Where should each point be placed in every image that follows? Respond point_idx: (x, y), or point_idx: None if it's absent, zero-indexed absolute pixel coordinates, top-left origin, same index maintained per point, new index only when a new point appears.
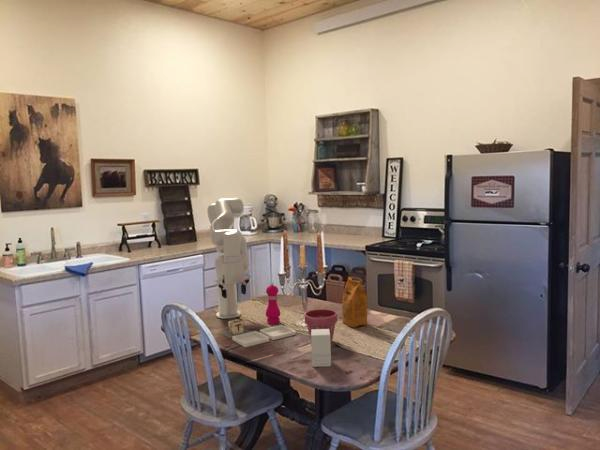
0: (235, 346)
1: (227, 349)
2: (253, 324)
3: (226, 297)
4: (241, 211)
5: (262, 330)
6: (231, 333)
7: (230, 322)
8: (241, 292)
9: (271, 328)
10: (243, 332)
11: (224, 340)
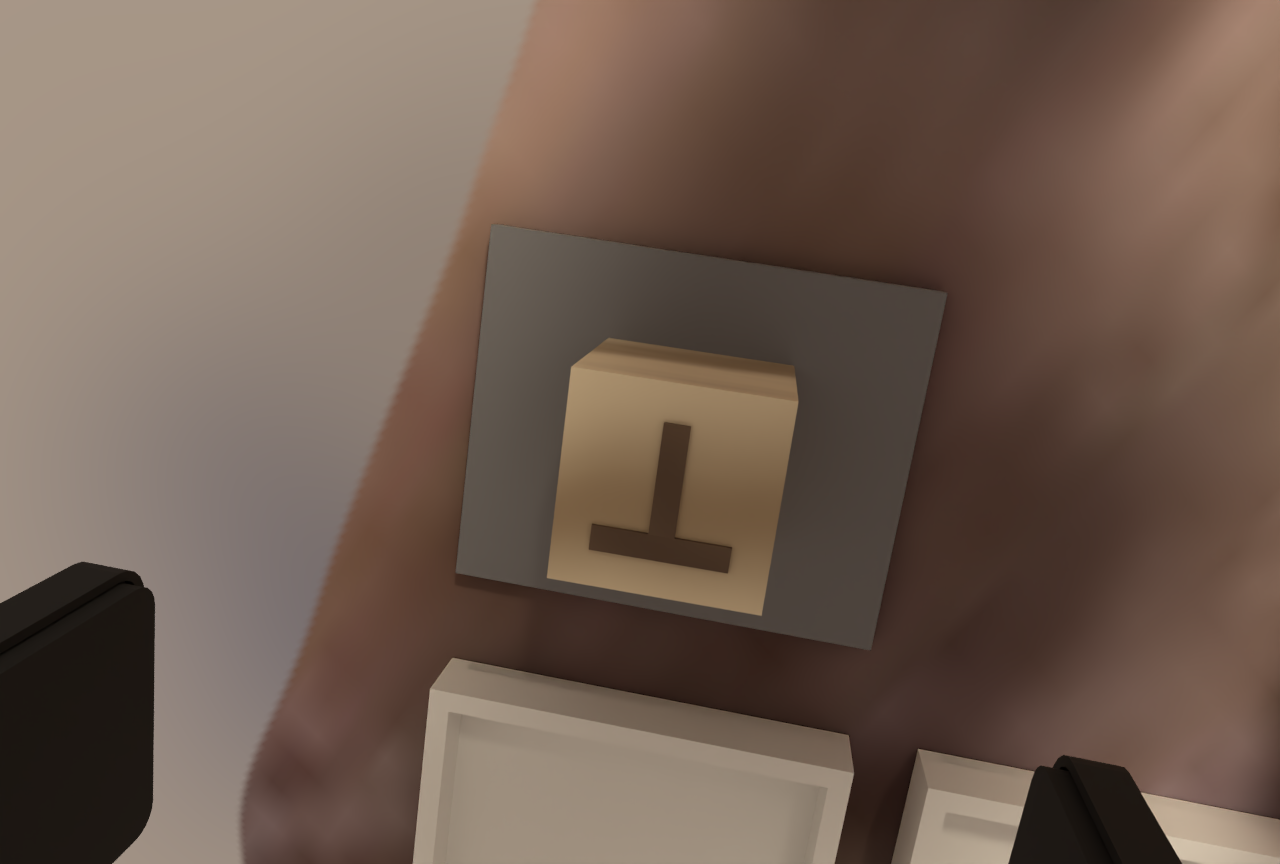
0: (368, 846)
1: (241, 847)
2: (1229, 274)
3: (121, 840)
4: None
5: (964, 808)
6: None
7: (560, 463)
8: (1040, 798)
9: None
10: None
11: (381, 558)
